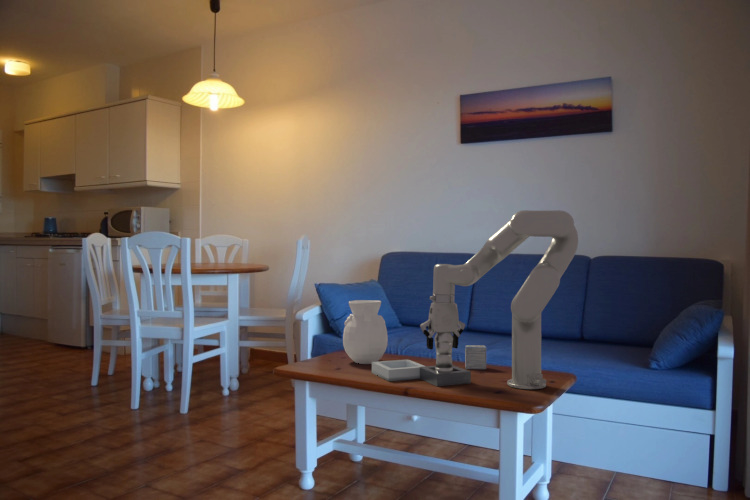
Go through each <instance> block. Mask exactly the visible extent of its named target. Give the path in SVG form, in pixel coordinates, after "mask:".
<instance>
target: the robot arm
mask: <svg viewBox="0 0 750 500" xmlns="http://www.w3.org/2000/svg"><path fill="white" fill-rule="evenodd" d="M530 237H543V238H551V242H550V244H549V245H548V248H547V249H546V250H545V252H544V255H543V256H542V257H541V259H540V260H539V262H538V263H537V264H536V266H535V267H533V268H532V270H531V272H530V273H529V275H528V276H527V277H526V279H525V281H524V283H523V284H522V285H521V287H520V288H519V290H518V291H517V293H516V294H515V296H514V297H512V301H511V303H510V311H511V378H510V379H508V380H507V382H506V383H507V386H508V387H510V388H515V389H521V390H539V389H540V390H541V389H544V388H546V387H547V379H545V378H543V373H542V312H543V311H544V309H545V307H546V306H547V305H548V304H549V302H550V300H551V299H552V297H553V296H554V294H555V293H556V291H557V289H558V288H559V286H560V283H561V278H562V276H563V275H564V273H565V271H566V270H567V269H568V267H569V265H570V263H571V262H572V261H573V259H574V257H575V255H576V253H577V250H578V248H579V247H578V246H579V235H578V231H577V228H576V226H575V221H574V218H573V216H572V215H571V214H570V213H569V212H567V211H565V210H556V209H555V210H518V211H517V212H515V213H514V214H513V215H512V216H511V218H510V220H508V221H507V222H506V223H505V224H504V225H503V226H502V227H501V228H499V229H497V231H496V232H494V233H493V234H491V236H490V237H489V238H488V239H487V240H486V241H485V243H484V245H482V247H481V248H480V249H479V250H478V252H477V253H475V254H474V255H473V256H472V257H471V258H470V259H468V260H467V262H465V263H464V264H450V263H449V264H448V263H437V264H435V265H434V266H433V278H432V279H433V282H432V283H433V284H432V285H433V286H432V288H433V289H432V295H430V296H429V300H430V301H432V302H431V303H430V307H429V312H428V319H427V320H426V321H425V322H422V323H421V324H420V325H419V327H420V330H421V332H422V334H423V335H424V336H425V337H426V348H427V349H429V350H433V349H434V338H433V337H434V336H435V334H437V333H445V332H450V333H451V334H452V336H453V347H452V349H458V348H459V347H458V346H459V338H460V337H461V335H462V333H464V329H465V328H466V324H465V322H462V321H461V320H459V318H460V317H459V309H458V304H457V303H455V293H456V292H455V291H456V286H461V287H469V286H472V285H474V284H475V283H477V282H478V281H479V280H480V279H481V278H482V277H483V276H485V275H486V273H488V272H489V271H491V269H493V267H495V266H497V264H499V263H500V262H502V261H504V259H506V257H508V256H509V255H510V254H511V253H512V252H513V251H514V250H516V249H517V248H518V247H519V246H521V245H522V244H523V243H524V242H525V241H527V240H528V239H529V238H530ZM427 329H428V330H427Z"/></svg>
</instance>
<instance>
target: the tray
mask: <svg viewBox="0 0 750 500" xmlns="http://www.w3.org/2000/svg"><path fill="white" fill-rule="evenodd" d="M424 366H425V365H423V364H421V363H418V362H417V361H415V360H414V361H413V360H410V359H396V360H395V359H394V360H382V361H381V360H379V361H378V362H372V364H371V374H373V375H374V376H377V375H378V376H377V377H379V378H380V379H383V380H385V381H386V382H400V381H407V380H408V381H409V380H410V381H411V380H421V379H420V367H424Z"/></svg>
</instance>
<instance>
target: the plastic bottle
mask: <svg viewBox="0 0 750 500" xmlns="http://www.w3.org/2000/svg"><path fill="white" fill-rule="evenodd" d="M433 340H434V345H435V353H436V356H435V357H436V359H435V366H436V367H435V371H438V372H452V371H453V366H452V365H453V334H452V332H445V333H437V332H436V333H435V334H434V338H433Z"/></svg>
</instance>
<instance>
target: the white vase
mask: <svg viewBox="0 0 750 500" xmlns="http://www.w3.org/2000/svg"><path fill="white" fill-rule="evenodd" d="M381 305H382V301H381V300H378V299H377V300H374V299H372V300H371V299H370V300H368V299H366V300H365V299H362V300H361V299H355V300H349V301H348V306H349V308H350V311H351V313H350V314H349V315H348V316H347V317H346V320H345V321H344V323H343V325H344V328H343V334H342V335H343V336H342V346H343V349H344V351H345V353H346V354H347V355H348V357H349V358H350V359H351V360H352V361H353V362H354V363H355V364H358V363H359V364H360V365H372V362H379V361H380V359H382V357H383V356H384V354H385V352H386V350H387V348H388V342H389V340H388V339H389V337H388V329H387V326H386V321H385V319H384V317H383V316H382V315H379V310H380V308H381Z"/></svg>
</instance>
